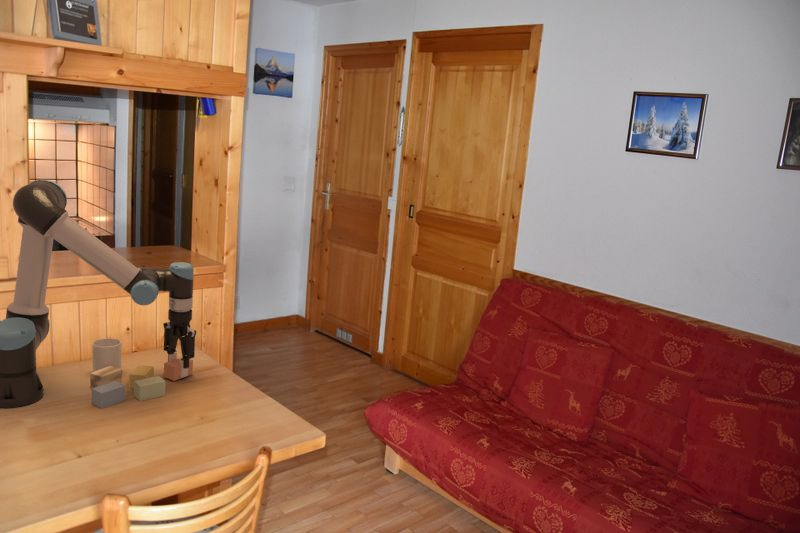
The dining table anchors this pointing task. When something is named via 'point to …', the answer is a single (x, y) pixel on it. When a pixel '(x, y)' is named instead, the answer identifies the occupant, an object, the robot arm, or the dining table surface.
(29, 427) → the dining table surface
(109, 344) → the mug
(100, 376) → the birch brick
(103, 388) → the slate brick
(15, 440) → the dining table surface
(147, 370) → the mustard brick
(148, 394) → the sage brick
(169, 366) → the terracotta brick
